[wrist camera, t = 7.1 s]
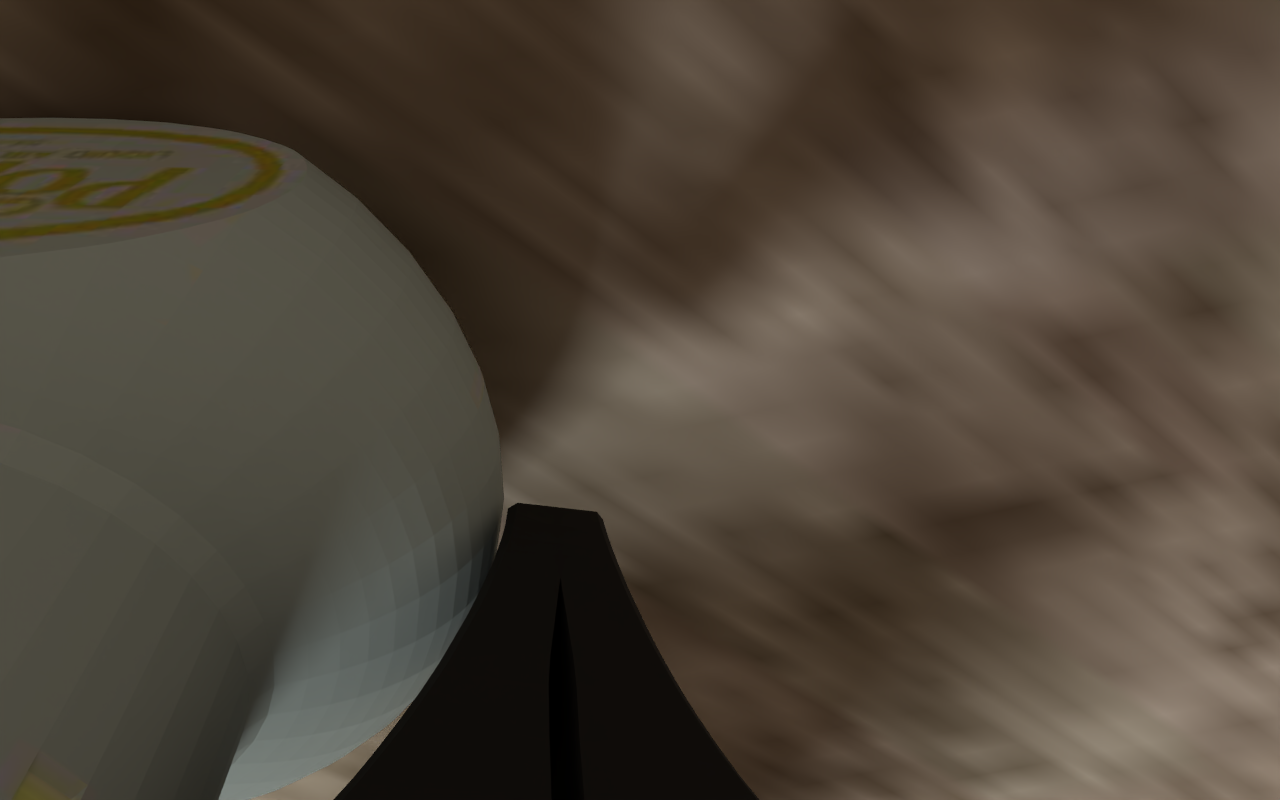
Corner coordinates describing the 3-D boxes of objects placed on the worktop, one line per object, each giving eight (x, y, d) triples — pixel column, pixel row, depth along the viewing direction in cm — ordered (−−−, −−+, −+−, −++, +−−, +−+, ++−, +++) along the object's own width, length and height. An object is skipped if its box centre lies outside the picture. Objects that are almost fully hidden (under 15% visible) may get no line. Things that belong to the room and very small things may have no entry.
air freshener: (497, 102, 13) (353, 699, 4) (524, 552, 17) (480, 1269, 9) (-352, 97, 12) (-2526, 801, 4) (-90, 567, 16) (-776, 1364, 8)
